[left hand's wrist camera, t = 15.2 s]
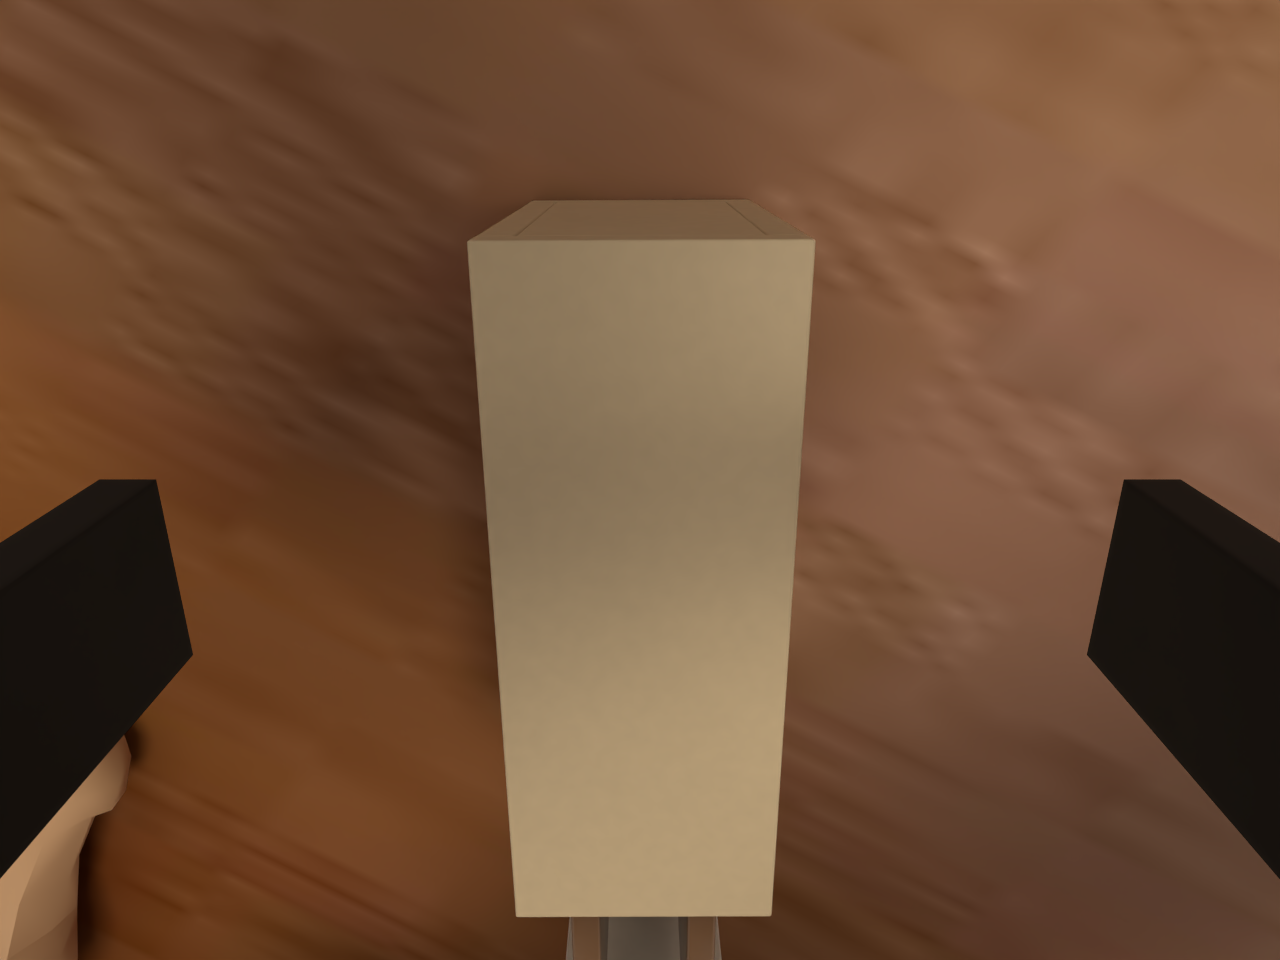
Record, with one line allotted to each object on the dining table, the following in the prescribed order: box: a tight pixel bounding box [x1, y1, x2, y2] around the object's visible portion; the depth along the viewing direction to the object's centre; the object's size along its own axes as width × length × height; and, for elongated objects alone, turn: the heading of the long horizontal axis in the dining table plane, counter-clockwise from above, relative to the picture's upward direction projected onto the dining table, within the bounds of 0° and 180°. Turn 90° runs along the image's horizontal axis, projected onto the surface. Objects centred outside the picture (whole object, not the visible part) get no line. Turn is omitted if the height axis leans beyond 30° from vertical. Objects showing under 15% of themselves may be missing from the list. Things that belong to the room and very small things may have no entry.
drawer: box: [566, 916, 722, 960], centre depth 30 cm, size 22×5×9 cm, turn 0°
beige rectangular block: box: [467, 199, 816, 917], centre depth 25 cm, size 17×7×11 cm, turn 0°
